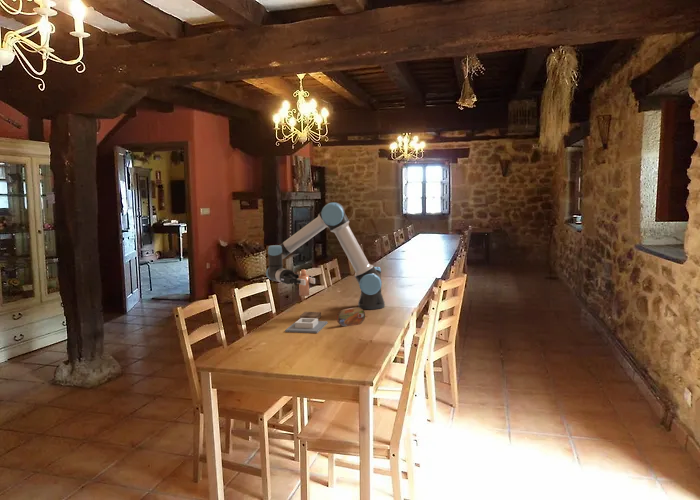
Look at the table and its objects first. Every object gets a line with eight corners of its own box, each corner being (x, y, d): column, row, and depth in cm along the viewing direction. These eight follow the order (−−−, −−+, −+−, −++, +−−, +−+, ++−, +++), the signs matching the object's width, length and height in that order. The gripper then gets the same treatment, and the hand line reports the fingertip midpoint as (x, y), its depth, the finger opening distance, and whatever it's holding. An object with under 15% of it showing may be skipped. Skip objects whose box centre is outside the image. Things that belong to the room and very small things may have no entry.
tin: (338, 327, 248) (338, 310, 247) (336, 326, 251) (335, 309, 250) (365, 323, 255) (365, 306, 254) (362, 321, 258) (362, 305, 257)
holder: (327, 323, 257) (327, 316, 256) (317, 333, 240) (316, 326, 239) (297, 322, 261) (297, 315, 260) (285, 332, 243) (284, 324, 243)
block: (321, 316, 271) (321, 312, 270) (316, 321, 262) (316, 316, 262) (305, 316, 273) (304, 311, 272) (299, 320, 264) (299, 315, 264)
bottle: (310, 294, 258) (309, 268, 256) (307, 296, 253) (306, 270, 252) (301, 293, 259) (300, 268, 258) (298, 295, 255) (297, 270, 253)
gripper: (299, 280, 275) (324, 286, 257) (270, 285, 264) (294, 291, 246) (299, 267, 274) (324, 272, 256) (270, 271, 263) (294, 276, 245)
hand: (309, 281), depth 251 cm, fingers closed on bottle, 5 cm apart
